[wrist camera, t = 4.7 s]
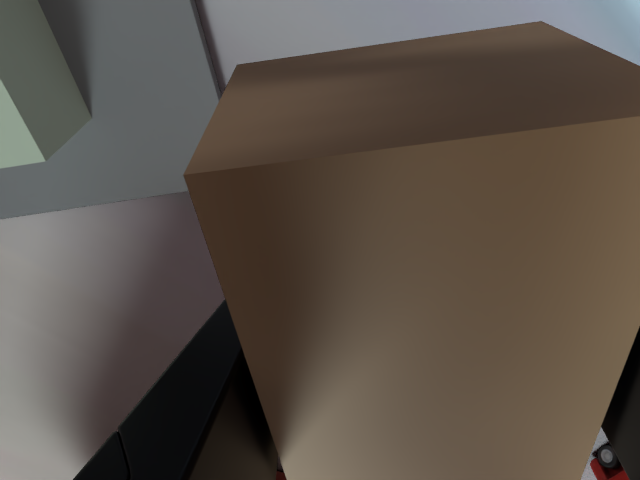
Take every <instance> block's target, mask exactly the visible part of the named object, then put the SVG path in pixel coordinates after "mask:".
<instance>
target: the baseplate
mask: <svg viewBox="0 0 640 480" xmlns="http://www.w3.org/2000/svg"><path fill="white" fill-rule="evenodd" d="M221 97H222V96H221V93H220V89H219V86H218V82H217V79H216V75H215V71H214V68H213V64H212V61H211V57H210V54H209V50H208V47H207V43H206V40H205V36H204V33H203V29H202V26H201V22H200V18H199V15H198V11H197V8H196V4H195V1H194V0H0V219H6V218H12V217H19V216H26V215H32V214H39V213H46V212H52V211H59V210H66V209H72V208H79V207H86V206H92V205H99V204H106V203H112V202H119V201H126V200H132V199H139V198H146V197H152V196H159V195H166V194H172V193H179V192H186V191H189V190H188V187H187V184H186V182H185V179H184V176H183V174H184V172H185V170H186V168H187V166H188V164H189V162H190V160H191V158H192V156H193V154H194V152H195V150H196V148H197V146H198V144H199V142H200V140H201V138H202V136H203V134H204V131H205V129H206V127H207V125H208V123H209V121H210V119H211V117H212V115H213V113H214V111H215V109H216V107H217V105H218V103H219V101H220V99H221Z"/></svg>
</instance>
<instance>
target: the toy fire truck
mask: <svg viewBox="0 0 640 480" xmlns="http://www.w3.org/2000/svg"><path fill="white" fill-rule="evenodd" d="M590 466H591V468H592V470H593V472H594V475H595V476H596V478H597V480H629V478H628V476H627V474H626V472H625V470H624V468H623V467H622V465H621V463H620V461H619V459H618V457H617V455H616V453H615V452H614V450H613V448H612V447H611V446H602V447H601V448H600V449H599V451H598V459H597V458H595V459H593V460H592V461H591V463H590Z"/></svg>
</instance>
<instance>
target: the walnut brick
mask: <svg viewBox="0 0 640 480" xmlns="http://www.w3.org/2000/svg"><path fill="white" fill-rule="evenodd" d="M183 176H184V179H185V182H186V184H187V187H188V190H189V193H190V196H191V199H192V202H193V205H194V208H195V211H196V214H197V217H198V220H199V223H200V226H201V229H202V232H203V234H204V237H205V240H206V243H207V246H208V249H209V252H210V255H211V258H212V261H213V264H214V267H215V270H216V273H217V276H218V279H219V282H220V285H221V287H222V290H223V293H224V296H225V299H226V302H227V305H228V308H229V311H230V314H231V317H232V320H233V323H234V326H235V329H236V332H237V335H238V337H239V340H240V343H241V346H242V349H243V352H244V355H245V358H246V361H247V364H248V367H249V370H250V373H251V376H252V379H253V382H254V385H255V388H256V390H257V393H258V396H259V399H260V402H261V405H262V408H263V411H264V414H265V417H266V420H267V423H268V426H269V429H270V432H271V435H272V438H273V440H274V443H275V446H276V449H277V452H278V455H279V458H280V461H281V464H282V467H283V470H284V473H285V476H286V479H287V480H580V479H581V477H582V474H583V472H584V469H585V466H586V464H587V461H588V459H589V456H590V453H591V451H592V448H593V446H594V443H595V440H596V438H597V435H598V433H599V430H600V428H601V425H602V422H603V420H604V417H605V415H606V412H607V409H608V407H609V404H610V402H611V399H612V396H613V394H614V391H615V389H616V386H617V384H618V381H619V378H620V376H621V373H622V371H623V368H624V365H625V363H626V360H627V358H628V355H629V352H630V350H631V347H632V345H633V342H634V339H635V337H636V334H637V332H638V329H639V327H640V66H638V65H636V64H634V63H632V62H630V61H628V60H625V59H623V58H621V57H619V56H617V55H614V54H612V53H610V52H608V51H606V50H603V49H601V48H599V47H597V46H595V45H593V44H590V43H588V42H586V41H584V40H582V39H579V38H577V37H575V36H573V35H571V34H568V33H566V32H564V31H562V30H560V29H557V28H555V27H553V26H551V25H549V24H547V23H544V22H542V21H539V22H532V23H525V24H518V25H511V26H504V27H497V28H490V29H483V30H476V31H469V32H463V33H456V34H449V35H442V36H435V37H428V38H421V39H414V40H407V41H400V42H393V43H386V44H379V45H372V46H365V47H358V48H351V49H344V50H337V51H330V52H323V53H316V54H309V55H302V56H295V57H288V58H281V59H274V60H267V61H260V62H253V63H246V64H239V65H237V66H236V68H235V70H234V72H233V74H232V76H231V78H230V80H229V82H228V84H227V86H226V89H225V91H224V93H223V95H222V97H221V99H220V101H219V103H218V105H217V107H216V109H215V111H214V113H213V115H212V117H211V119H210V121H209V123H208V125H207V127H206V129H205V131H204V134H203V136H202V138H201V140H200V142H199V144H198V146H197V148H196V150H195V152H194V154H193V156H192V158H191V160H190V162H189V164H188V166H187V168H186V170H185V172H184V174H183Z"/></svg>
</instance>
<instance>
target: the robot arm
mask: <svg viewBox="0 0 640 480" xmlns="http://www.w3.org/2000/svg"><path fill="white" fill-rule="evenodd" d="M601 427H602V429H603V431H604V433H605V435H606V437H607V438H608V440H609V442H610V444H611V446H612V448H613V450H614V452H615V453H616V455H617V457H618V459H619V461H620V463H621V465H622V467H623V468H624V470H625V472H626V474H627V476H628V478H629V480H640V327H639V329H638V332H637V334H636V337H635V339H634V342H633V345H632V347H631V350H630V352H629V355H628V358H627V360H626V363H625V365H624V368H623V371H622V373H621V376H620V378H619V381H618V384H617V386H616V389H615V391H614V394H613V396H612V399H611V402H610V404H609V407H608V409H607V412H606V415H605V417H604V420H603V422H602V425H601ZM277 461H278V452H277V449H276V446H275V443H274V440H273V438H272V435H271V432H270V429H269V426H268V423H267V420H266V417H265V414H264V411H263V408H262V405H261V402H260V399H259V396H258V393H257V390H256V388H255V385H254V382H253V379H252V376H251V373H250V370H249V367H248V364H247V361H246V358H245V355H244V352H243V349H242V346H241V343H240V340H239V337H238V335H237V332H236V329H235V326H234V323H233V320H232V317H231V314H230V311H229V308H228V305H227V302H226V299H225V300H224V301H223V302H222V303H221V305H220V306H219V307H218V308H217V309H216V311H215V312H214V313H213V314H212V315H211V317H210V318H209V319H208V320H207V321H206V323H205V324H204V325H203V326H202V327H201V329H200V330H199V331H198V332H197V333H196V335H195V336H194V337H193V338H192V339H191V340H190V342H189V343H188V344H187V345H186V346H185V348H184V349H183V350H182V351H181V352H180V354H179V355H178V356H177V357H176V358H175V360H174V361H173V362H172V363H171V364H170V366H169V367H168V368H167V369H166V370H165V372H164V373H163V374H162V375H161V376H160V377H159V379H158V380H157V381H156V382H155V383H154V385H153V386H152V387H151V388H150V389H149V391H148V392H147V393H146V394H145V395H144V397H143V398H142V399H141V400H140V401H139V403H138V404H137V405H136V406H135V407H134V409H133V410H132V411H131V412H130V413H129V414H128V416H127V417H126V418H125V419H124V420H123V422H122V423H121V424H120V425H119V427H118V432H117V431H115V432H113V433H112V434H111V436H110V437H109V438H108V439H107V440H106V442H105V443H104V444H103V445H102V446H101V448H100V449H99V450H98V451H97V452H96V454H95V455H94V456H93V457H92V458H91V459H90V460H89V462H88V463H87V464H86V465H85V466H84V467H83V468H82V470H81V471H80V472H79V473H78V474H77V475H76V476H75V478H74V479H73V480H276V471H277Z"/></svg>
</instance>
